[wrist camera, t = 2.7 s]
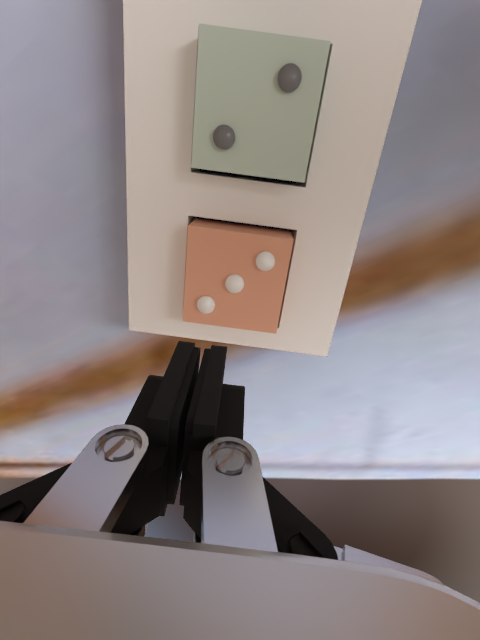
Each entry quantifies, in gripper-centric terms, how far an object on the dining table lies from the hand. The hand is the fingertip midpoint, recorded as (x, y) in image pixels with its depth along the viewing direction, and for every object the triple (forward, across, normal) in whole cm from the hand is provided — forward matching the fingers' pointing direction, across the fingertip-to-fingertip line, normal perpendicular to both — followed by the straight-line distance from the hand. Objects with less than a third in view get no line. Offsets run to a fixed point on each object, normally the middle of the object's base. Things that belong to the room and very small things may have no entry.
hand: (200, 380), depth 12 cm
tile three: (+12, -1, 0) cm, 12 cm away
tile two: (+12, -1, -9) cm, 16 cm away
